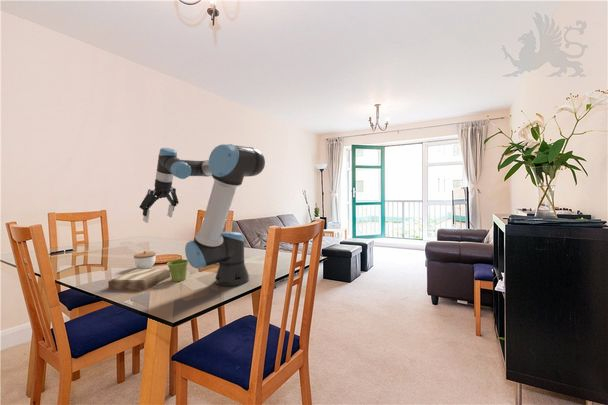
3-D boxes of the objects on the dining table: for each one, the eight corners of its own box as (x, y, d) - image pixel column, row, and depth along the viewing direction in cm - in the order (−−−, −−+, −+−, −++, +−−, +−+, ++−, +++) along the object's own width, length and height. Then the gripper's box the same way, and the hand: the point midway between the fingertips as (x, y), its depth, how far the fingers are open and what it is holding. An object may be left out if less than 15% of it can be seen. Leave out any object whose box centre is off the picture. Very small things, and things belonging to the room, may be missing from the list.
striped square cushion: (170, 276, 142) (169, 268, 141) (145, 290, 124) (145, 281, 124) (137, 275, 144) (137, 268, 144) (108, 288, 126) (108, 280, 126)
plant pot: (181, 283, 131) (180, 265, 131) (163, 282, 133) (162, 264, 133) (193, 277, 140) (192, 259, 140) (176, 276, 142) (175, 259, 142)
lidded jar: (160, 265, 164) (159, 249, 163) (148, 270, 153) (147, 253, 152) (143, 265, 165) (142, 249, 164) (129, 270, 154) (128, 253, 153)
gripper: (180, 175, 151) (173, 211, 157) (134, 178, 129) (129, 220, 135) (189, 180, 148) (183, 217, 154) (144, 184, 126) (139, 227, 132)
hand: (158, 218), depth 145 cm, fingers open, 13 cm apart
